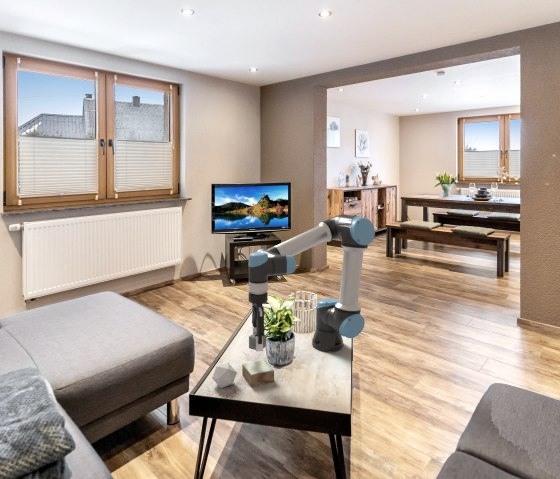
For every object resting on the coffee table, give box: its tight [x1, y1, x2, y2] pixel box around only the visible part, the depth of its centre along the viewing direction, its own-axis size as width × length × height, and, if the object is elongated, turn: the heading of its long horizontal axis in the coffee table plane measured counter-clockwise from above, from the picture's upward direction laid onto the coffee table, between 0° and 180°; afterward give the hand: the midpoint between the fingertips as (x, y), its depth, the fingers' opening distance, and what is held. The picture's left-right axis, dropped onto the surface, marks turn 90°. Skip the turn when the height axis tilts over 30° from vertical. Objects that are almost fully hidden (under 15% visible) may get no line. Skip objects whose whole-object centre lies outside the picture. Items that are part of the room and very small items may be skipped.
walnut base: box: [241, 359, 275, 388], centre depth 162 cm, size 10×10×5 cm
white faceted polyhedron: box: [211, 362, 238, 389], centre depth 157 cm, size 8×9×10 cm
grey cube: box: [248, 332, 267, 351], centre depth 160 cm, size 5×5×5 cm
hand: (257, 346), depth 160 cm, fingers closed on grey cube, 7 cm apart
